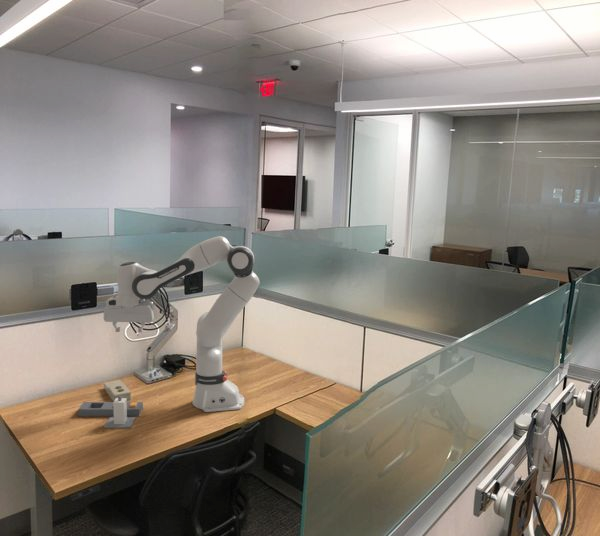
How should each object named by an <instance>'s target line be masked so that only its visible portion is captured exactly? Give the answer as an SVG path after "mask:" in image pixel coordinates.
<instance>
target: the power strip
mask: <svg viewBox="0 0 600 536" xmlns="http://www.w3.org/2000/svg"><path fill="white" fill-rule="evenodd" d="M143 410H144V402H143V401H127V417H140V415H141V413H142V411H143ZM77 414H78V417H114V409H113V401H83V402H82V404H81V405H80V407H78V409H77Z"/></svg>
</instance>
